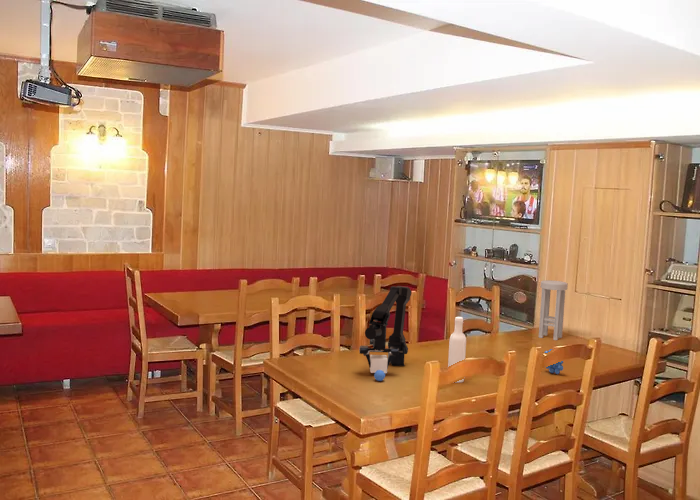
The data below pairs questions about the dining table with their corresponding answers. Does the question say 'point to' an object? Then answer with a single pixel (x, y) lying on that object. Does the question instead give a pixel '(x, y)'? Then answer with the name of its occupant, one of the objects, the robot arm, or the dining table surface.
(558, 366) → the grapes
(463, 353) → the bottle
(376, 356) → the pale pink cube
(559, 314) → the stool
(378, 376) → the ball
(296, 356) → the dining table surface
